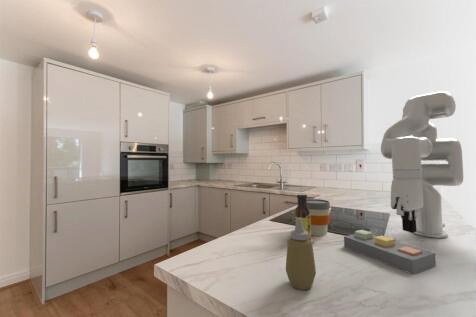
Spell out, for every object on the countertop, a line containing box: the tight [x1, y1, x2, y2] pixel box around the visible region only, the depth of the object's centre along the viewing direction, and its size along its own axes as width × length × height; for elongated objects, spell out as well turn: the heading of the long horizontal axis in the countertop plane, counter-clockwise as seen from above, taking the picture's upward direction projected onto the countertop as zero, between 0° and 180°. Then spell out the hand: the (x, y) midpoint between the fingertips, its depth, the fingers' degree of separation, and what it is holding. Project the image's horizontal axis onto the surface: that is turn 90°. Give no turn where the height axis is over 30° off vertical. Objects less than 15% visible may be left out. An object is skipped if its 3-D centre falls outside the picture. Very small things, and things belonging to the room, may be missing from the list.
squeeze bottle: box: [285, 218, 317, 291], centre depth 61 cm, size 8×8×18 cm
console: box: [343, 233, 437, 275], centre depth 78 cm, size 12×24×4 cm, turn 24°
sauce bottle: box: [294, 193, 312, 241], centre depth 94 cm, size 7×6×20 cm
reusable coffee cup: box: [307, 198, 331, 237], centre depth 104 cm, size 13×13×15 cm
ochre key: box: [374, 235, 396, 247], centre depth 78 cm, size 4×4×2 cm
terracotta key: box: [398, 246, 422, 256], centre depth 71 cm, size 4×4×2 cm
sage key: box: [354, 229, 374, 240], centre depth 85 cm, size 4×4×2 cm
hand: (409, 231), depth 71 cm, fingers closed
